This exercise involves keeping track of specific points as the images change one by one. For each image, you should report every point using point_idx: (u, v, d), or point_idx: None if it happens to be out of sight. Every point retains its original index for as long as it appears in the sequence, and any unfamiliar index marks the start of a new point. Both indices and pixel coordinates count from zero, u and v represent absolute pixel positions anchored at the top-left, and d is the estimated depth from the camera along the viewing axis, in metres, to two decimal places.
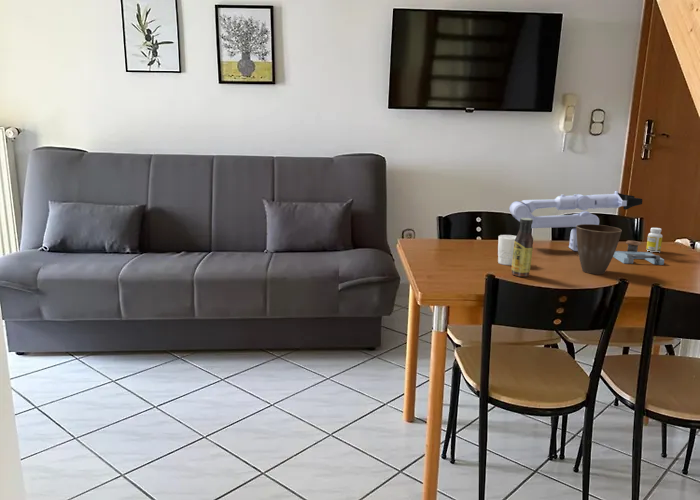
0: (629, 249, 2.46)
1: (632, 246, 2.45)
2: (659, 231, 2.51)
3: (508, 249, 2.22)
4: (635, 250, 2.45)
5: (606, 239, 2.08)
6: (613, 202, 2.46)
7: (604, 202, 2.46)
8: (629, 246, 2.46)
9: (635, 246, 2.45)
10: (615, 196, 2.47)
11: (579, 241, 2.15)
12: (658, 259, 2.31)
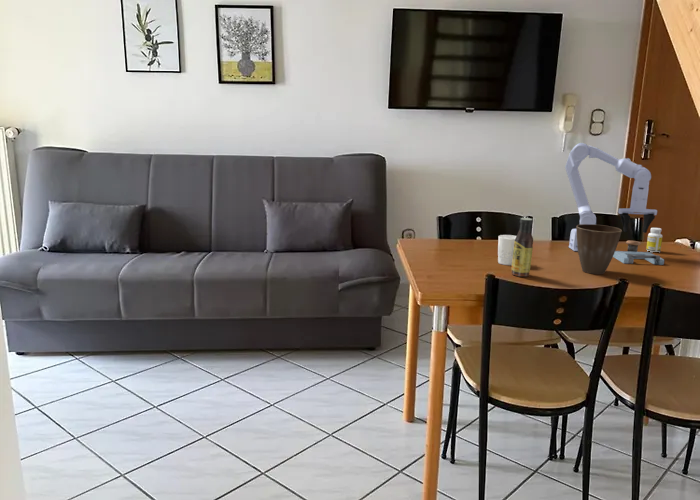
0: (629, 249, 2.46)
1: (632, 246, 2.45)
2: (659, 231, 2.51)
3: (508, 249, 2.22)
4: (635, 250, 2.45)
5: (606, 239, 2.08)
6: None
7: (639, 197, 2.40)
8: (629, 246, 2.46)
9: (635, 246, 2.45)
10: (635, 208, 2.41)
11: (579, 241, 2.15)
12: (658, 259, 2.31)
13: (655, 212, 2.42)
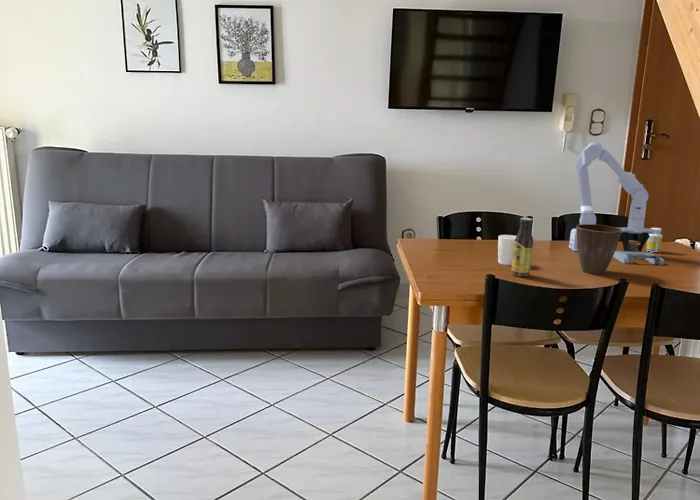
0: (629, 249, 2.46)
1: (632, 246, 2.45)
2: (659, 231, 2.51)
3: (508, 249, 2.22)
4: (635, 250, 2.45)
5: (606, 239, 2.08)
6: (628, 224, 2.45)
7: (637, 216, 2.41)
8: (629, 246, 2.46)
9: (635, 246, 2.45)
10: (632, 227, 2.43)
11: (579, 241, 2.15)
12: (658, 259, 2.31)
13: (652, 231, 2.44)
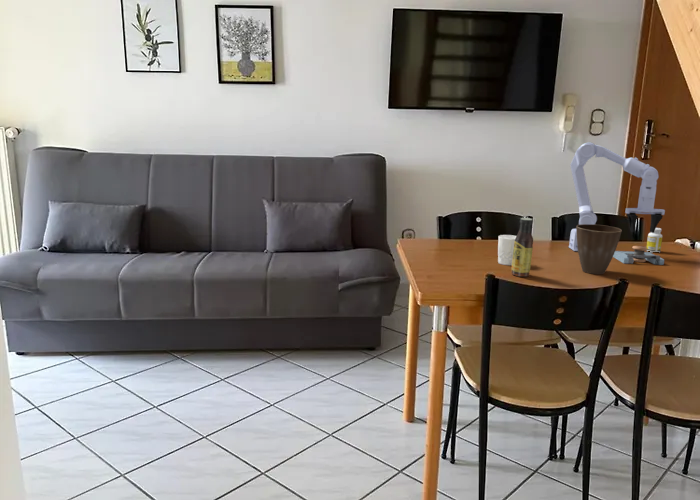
0: None
1: (638, 251, 2.35)
2: (659, 231, 2.51)
3: (508, 249, 2.22)
4: None
5: (606, 239, 2.08)
6: (638, 205, 2.41)
7: (646, 196, 2.38)
8: (635, 251, 2.36)
9: (641, 251, 2.35)
10: (642, 208, 2.39)
11: (579, 241, 2.15)
12: (658, 259, 2.31)
13: (663, 212, 2.40)
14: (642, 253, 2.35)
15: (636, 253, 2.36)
